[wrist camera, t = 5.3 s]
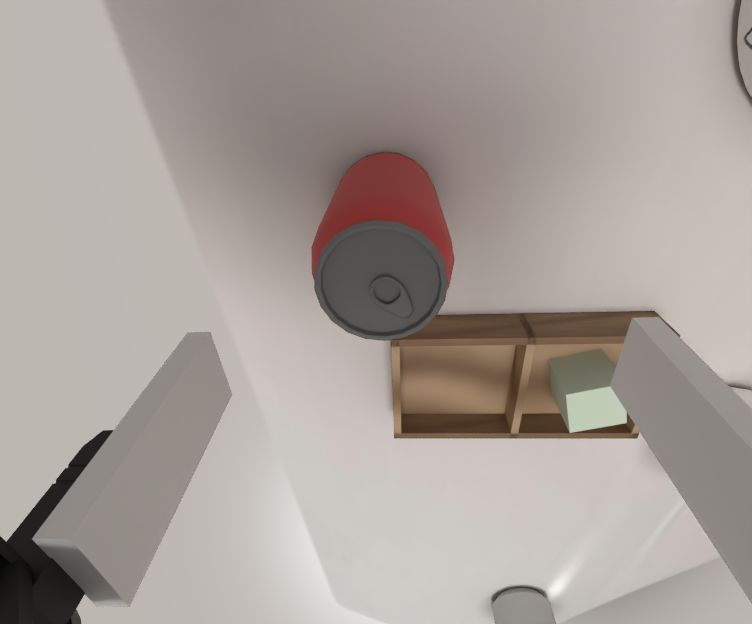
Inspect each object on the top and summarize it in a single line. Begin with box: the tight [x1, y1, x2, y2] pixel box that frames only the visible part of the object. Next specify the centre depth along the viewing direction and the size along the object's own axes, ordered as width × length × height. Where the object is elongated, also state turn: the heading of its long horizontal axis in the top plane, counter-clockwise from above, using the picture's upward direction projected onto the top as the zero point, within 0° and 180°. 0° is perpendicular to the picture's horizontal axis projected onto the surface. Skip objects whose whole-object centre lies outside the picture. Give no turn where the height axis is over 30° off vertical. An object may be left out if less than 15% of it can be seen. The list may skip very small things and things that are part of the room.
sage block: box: [548, 348, 627, 433], centre depth 31 cm, size 4×4×4 cm
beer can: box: [312, 153, 454, 341], centre depth 22 cm, size 7×7×12 cm
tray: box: [391, 311, 680, 438], centre depth 32 cm, size 10×20×3 cm, turn 93°
